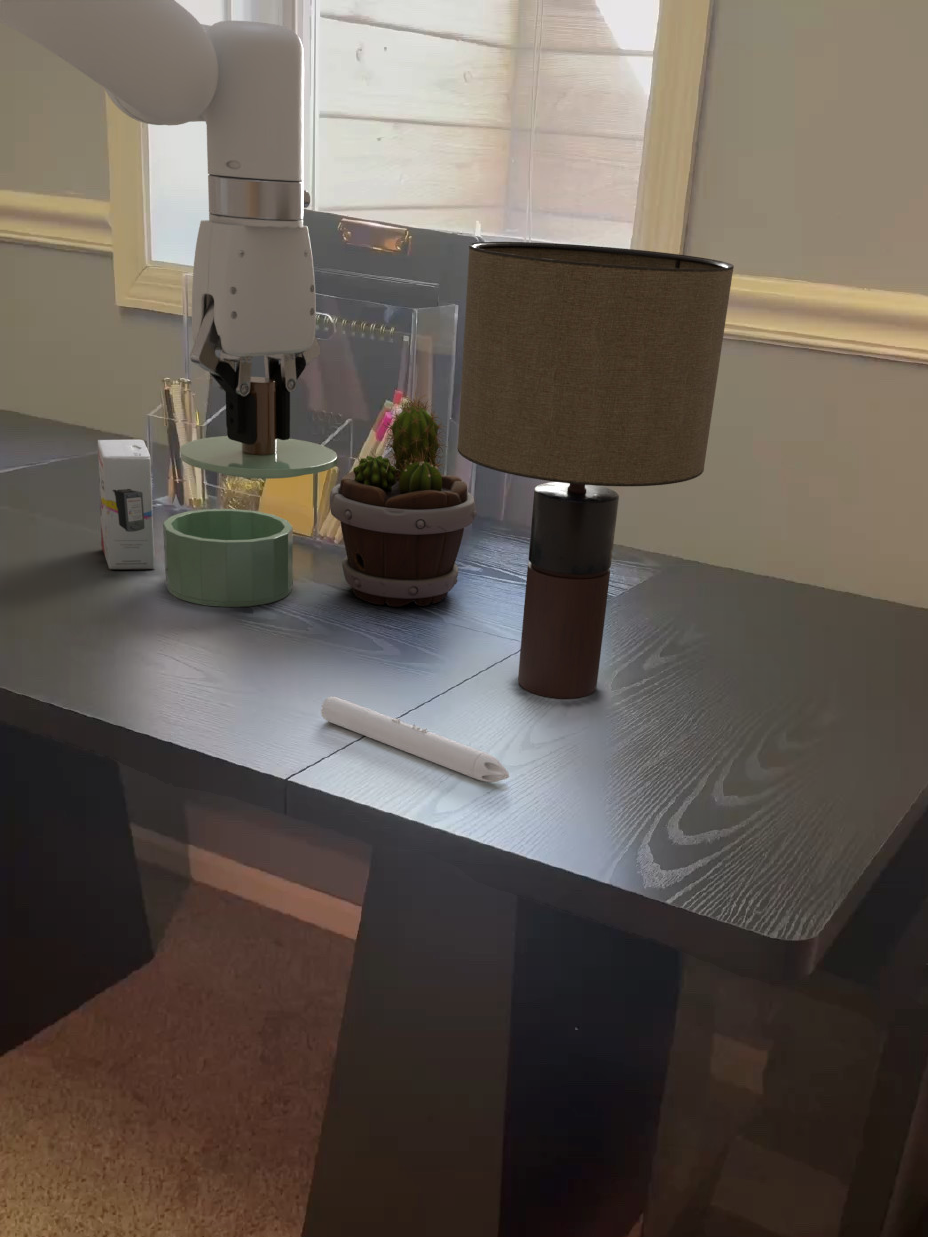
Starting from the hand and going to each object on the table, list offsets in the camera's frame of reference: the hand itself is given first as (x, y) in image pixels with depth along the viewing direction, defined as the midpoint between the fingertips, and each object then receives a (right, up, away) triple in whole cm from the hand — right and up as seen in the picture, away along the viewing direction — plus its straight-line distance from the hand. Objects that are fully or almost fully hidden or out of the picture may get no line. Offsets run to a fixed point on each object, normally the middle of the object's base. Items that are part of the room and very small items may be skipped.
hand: (258, 437), depth 113 cm
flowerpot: (+11, -9, +23) cm, 27 cm away
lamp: (+26, -21, +3) cm, 34 cm away
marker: (+14, -29, -12) cm, 34 cm away
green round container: (-7, -9, +21) cm, 23 cm away
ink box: (-19, -5, +27) cm, 33 cm away
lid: (0, -2, +1) cm, 2 cm away
